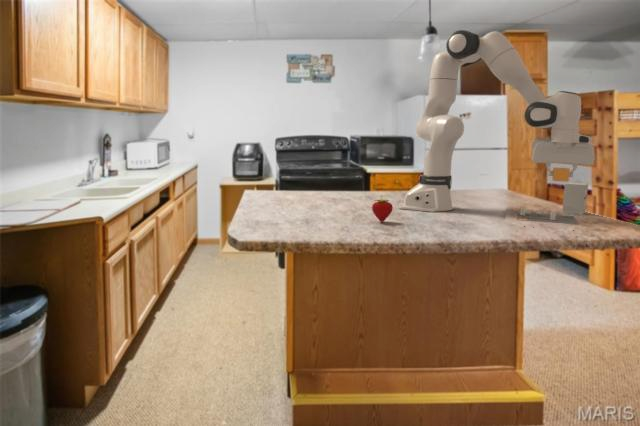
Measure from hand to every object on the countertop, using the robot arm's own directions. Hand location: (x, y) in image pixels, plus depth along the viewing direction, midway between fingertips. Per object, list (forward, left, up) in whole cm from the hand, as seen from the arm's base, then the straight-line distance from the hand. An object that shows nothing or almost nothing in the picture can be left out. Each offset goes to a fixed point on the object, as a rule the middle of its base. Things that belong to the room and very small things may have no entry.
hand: (560, 176), depth 178 cm
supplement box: (+7, +17, -17) cm, 25 cm away
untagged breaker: (-12, +3, -16) cm, 20 cm away
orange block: (0, 0, -2) cm, 2 cm away
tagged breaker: (-2, -3, -16) cm, 16 cm away
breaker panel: (-4, 0, -17) cm, 17 cm away
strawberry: (-60, -25, -17) cm, 67 cm away
